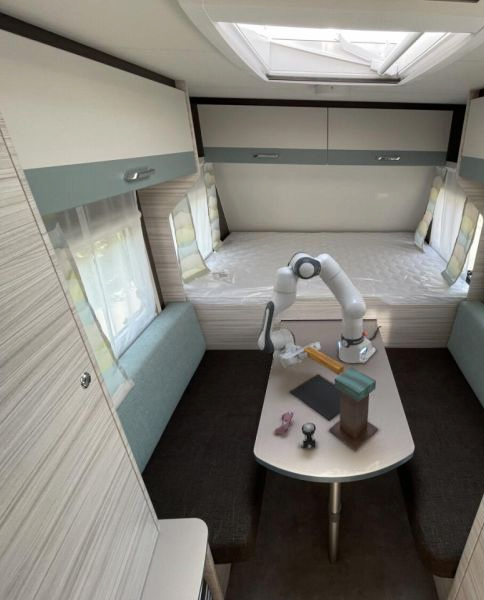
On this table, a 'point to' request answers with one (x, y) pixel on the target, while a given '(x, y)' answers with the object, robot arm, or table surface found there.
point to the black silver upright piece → (308, 435)
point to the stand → (354, 408)
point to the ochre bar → (324, 360)
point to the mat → (320, 396)
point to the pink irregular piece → (284, 422)
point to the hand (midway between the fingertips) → (311, 352)
